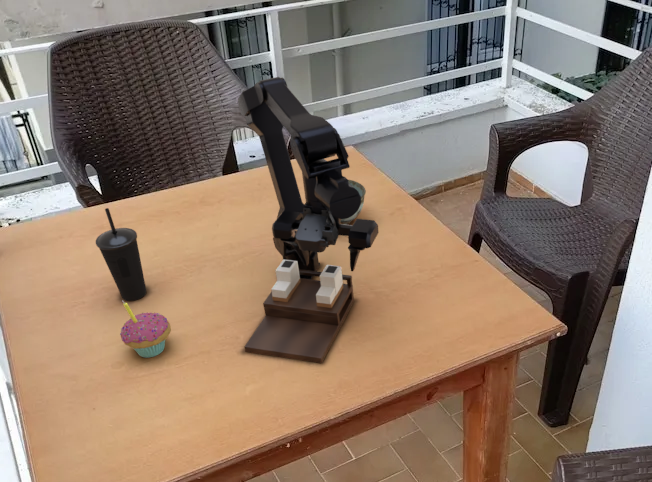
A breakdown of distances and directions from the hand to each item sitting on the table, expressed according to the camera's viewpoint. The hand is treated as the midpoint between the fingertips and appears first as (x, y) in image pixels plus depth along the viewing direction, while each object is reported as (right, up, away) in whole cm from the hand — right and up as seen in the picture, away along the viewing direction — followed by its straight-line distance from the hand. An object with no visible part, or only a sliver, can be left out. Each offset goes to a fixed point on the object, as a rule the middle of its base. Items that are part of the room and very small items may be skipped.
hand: (329, 267), depth 131 cm
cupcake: (-33, -15, -2) cm, 36 cm away
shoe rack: (-6, -11, +2) cm, 13 cm away
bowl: (-2, +12, +35) cm, 37 cm away
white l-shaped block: (-9, -4, +4) cm, 11 cm away
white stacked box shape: (0, -5, +3) cm, 6 cm away
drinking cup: (-42, -5, +12) cm, 44 cm away
